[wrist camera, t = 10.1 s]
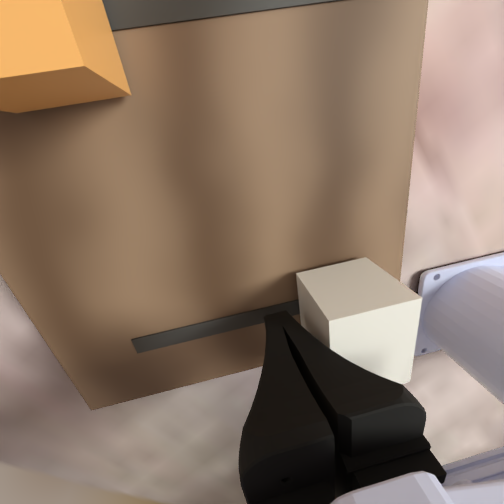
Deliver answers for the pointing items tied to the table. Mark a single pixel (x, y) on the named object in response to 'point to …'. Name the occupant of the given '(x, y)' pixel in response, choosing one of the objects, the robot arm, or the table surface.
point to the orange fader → (57, 55)
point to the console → (209, 183)
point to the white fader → (362, 316)
